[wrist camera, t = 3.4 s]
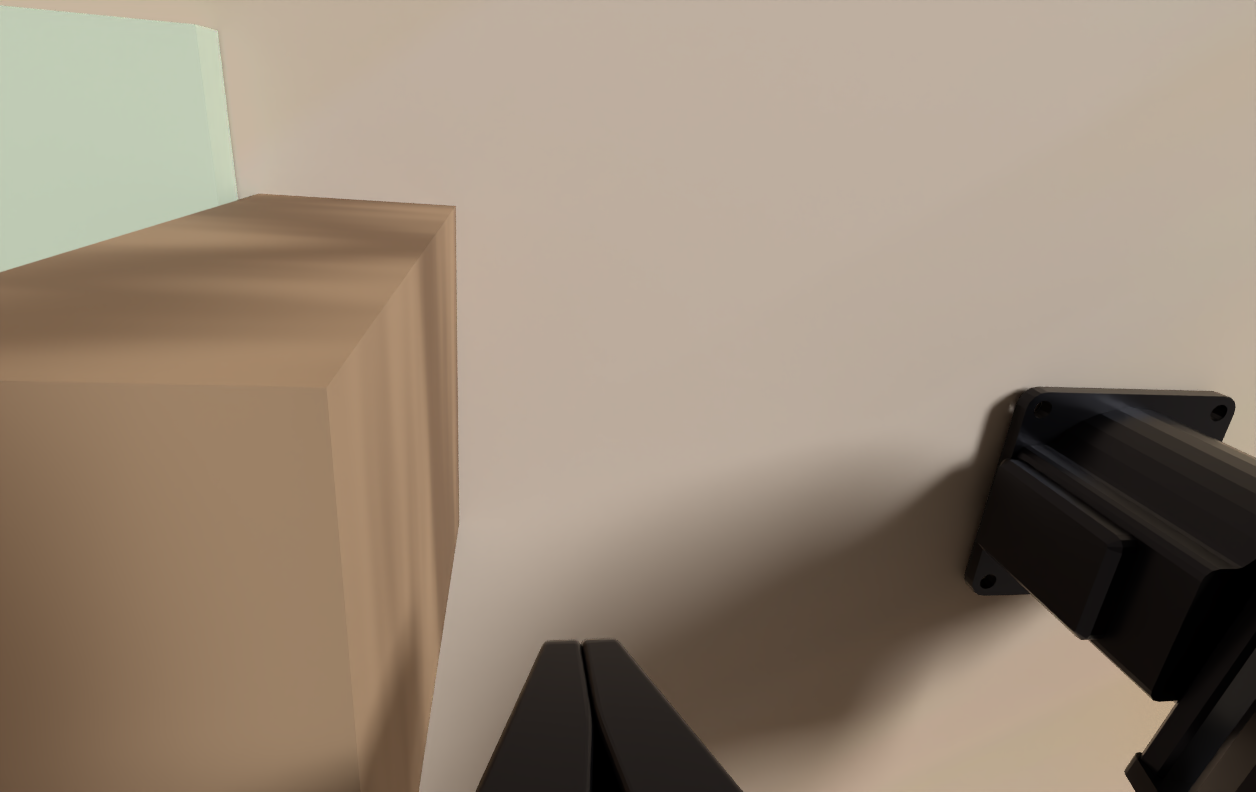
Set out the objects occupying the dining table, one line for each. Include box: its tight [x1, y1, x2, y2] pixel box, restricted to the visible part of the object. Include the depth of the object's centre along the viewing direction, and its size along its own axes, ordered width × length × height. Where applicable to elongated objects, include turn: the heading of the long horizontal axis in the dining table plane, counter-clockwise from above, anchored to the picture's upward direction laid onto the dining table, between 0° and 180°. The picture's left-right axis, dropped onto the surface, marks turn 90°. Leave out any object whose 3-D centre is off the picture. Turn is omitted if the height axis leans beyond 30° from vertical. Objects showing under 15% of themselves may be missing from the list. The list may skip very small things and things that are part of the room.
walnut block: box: [0, 194, 459, 792], centre depth 11 cm, size 4×8×11 cm, turn 176°
